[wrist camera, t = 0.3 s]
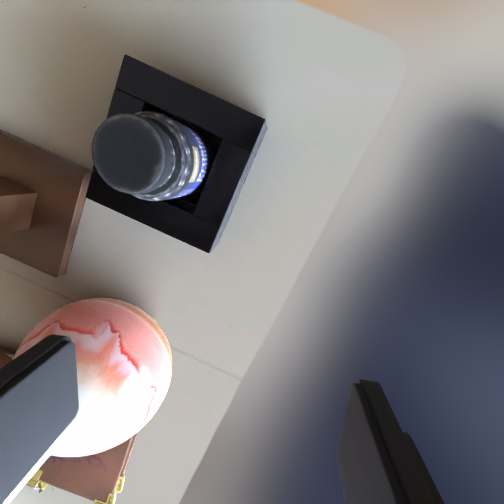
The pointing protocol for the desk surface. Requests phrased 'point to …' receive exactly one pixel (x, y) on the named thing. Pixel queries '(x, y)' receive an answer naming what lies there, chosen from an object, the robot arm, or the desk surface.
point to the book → (83, 468)
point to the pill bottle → (151, 156)
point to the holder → (222, 171)
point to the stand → (39, 204)
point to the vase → (106, 374)
